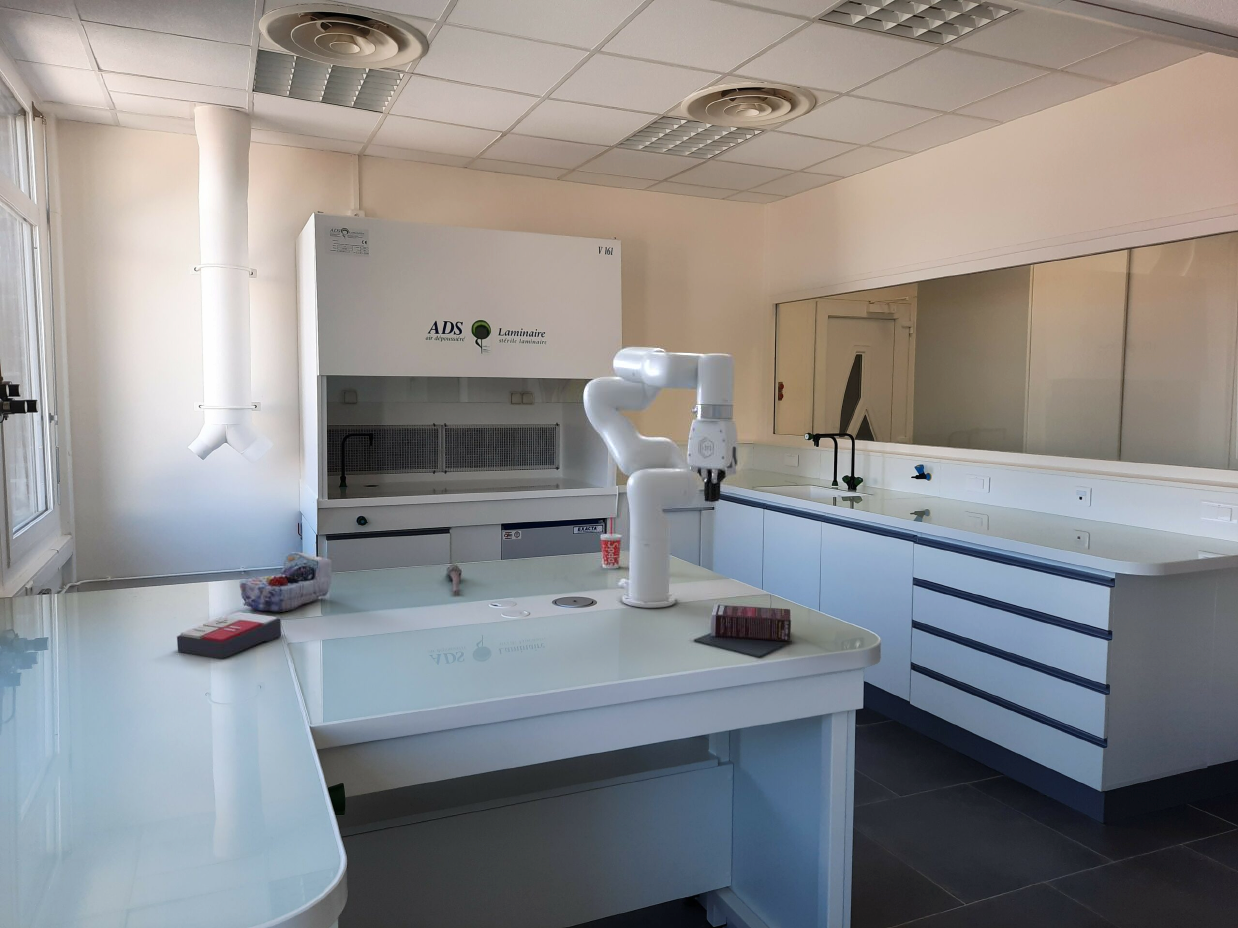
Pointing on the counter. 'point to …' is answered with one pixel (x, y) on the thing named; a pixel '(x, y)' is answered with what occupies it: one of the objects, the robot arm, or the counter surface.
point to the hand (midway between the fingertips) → (711, 500)
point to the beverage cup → (611, 549)
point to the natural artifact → (454, 577)
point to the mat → (743, 644)
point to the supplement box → (751, 622)
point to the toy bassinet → (289, 584)
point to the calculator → (229, 635)
